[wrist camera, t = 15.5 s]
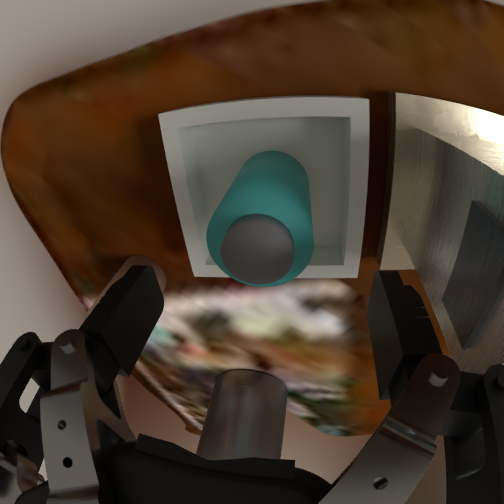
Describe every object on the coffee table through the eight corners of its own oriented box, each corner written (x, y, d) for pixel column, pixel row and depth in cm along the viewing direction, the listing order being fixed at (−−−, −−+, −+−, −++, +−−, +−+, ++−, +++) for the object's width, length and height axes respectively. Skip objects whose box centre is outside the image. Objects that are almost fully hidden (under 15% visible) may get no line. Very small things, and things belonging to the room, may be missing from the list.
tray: (351, 252, 20) (357, 277, 17) (205, 252, 22) (194, 276, 19) (356, 96, 14) (369, 99, 11) (178, 108, 16) (158, 114, 13)
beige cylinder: (172, 294, 25) (138, 362, 19) (133, 292, 26) (96, 352, 20) (158, 255, 23) (114, 322, 16) (118, 254, 24) (71, 314, 17)
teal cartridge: (309, 215, 18) (313, 299, 12) (242, 217, 19) (212, 297, 12) (307, 149, 16) (315, 201, 9) (233, 153, 16) (190, 206, 10)
